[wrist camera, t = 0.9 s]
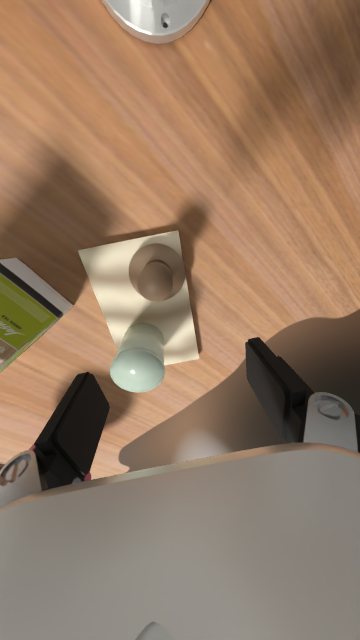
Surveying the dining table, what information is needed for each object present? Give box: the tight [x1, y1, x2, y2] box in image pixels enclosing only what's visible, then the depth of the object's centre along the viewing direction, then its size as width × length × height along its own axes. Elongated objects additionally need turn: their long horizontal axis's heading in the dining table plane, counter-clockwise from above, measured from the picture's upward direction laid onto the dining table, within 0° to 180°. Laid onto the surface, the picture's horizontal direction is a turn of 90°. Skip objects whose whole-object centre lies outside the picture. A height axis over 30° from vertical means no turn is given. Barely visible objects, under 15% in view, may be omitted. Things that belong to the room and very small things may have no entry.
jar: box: [110, 323, 165, 392], centre depth 28 cm, size 7×7×8 cm
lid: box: [129, 243, 185, 302], centre depth 23 cm, size 8×8×7 cm
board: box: [78, 230, 199, 365], centre depth 30 cm, size 22×14×1 cm, turn 10°
